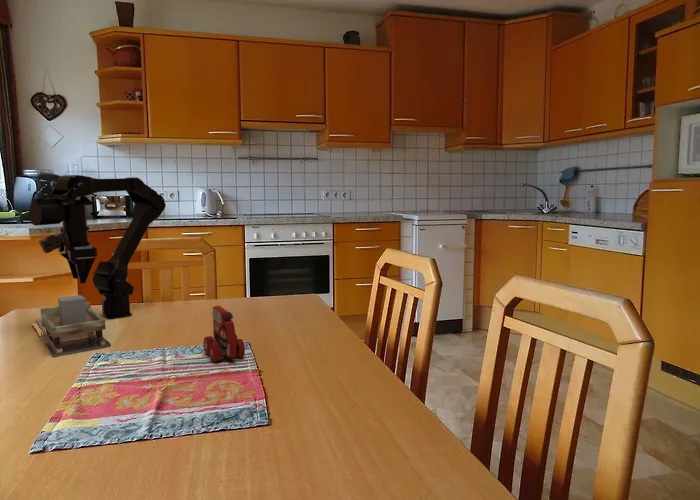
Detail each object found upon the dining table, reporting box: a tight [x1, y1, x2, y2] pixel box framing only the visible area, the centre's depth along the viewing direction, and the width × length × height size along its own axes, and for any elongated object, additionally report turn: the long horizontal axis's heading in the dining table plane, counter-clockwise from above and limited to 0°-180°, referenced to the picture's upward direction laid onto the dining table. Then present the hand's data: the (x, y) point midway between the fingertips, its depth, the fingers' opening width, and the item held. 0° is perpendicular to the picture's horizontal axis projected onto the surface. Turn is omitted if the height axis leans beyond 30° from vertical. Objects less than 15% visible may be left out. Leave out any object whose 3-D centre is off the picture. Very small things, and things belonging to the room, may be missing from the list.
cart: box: [40, 301, 107, 345], centre depth 127 cm, size 11×16×6 cm
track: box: [35, 319, 112, 357], centre depth 133 cm, size 12×34×1 cm, turn 38°
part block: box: [57, 294, 87, 326], centre depth 126 cm, size 5×5×6 cm
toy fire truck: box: [203, 305, 246, 363], centre depth 116 cm, size 7×12×10 cm, turn 29°
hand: (79, 280), depth 142 cm, fingers open, 9 cm apart
